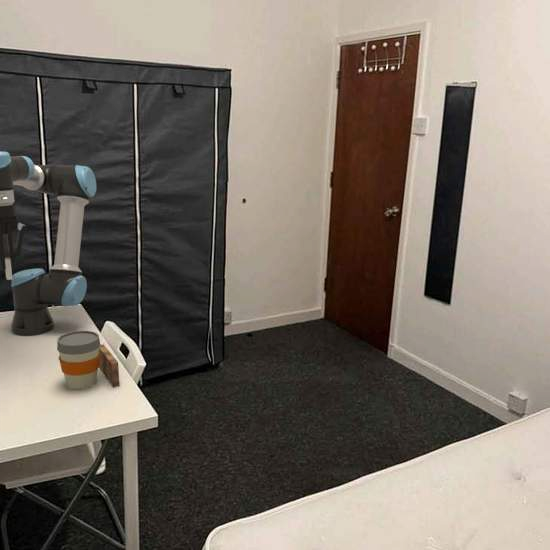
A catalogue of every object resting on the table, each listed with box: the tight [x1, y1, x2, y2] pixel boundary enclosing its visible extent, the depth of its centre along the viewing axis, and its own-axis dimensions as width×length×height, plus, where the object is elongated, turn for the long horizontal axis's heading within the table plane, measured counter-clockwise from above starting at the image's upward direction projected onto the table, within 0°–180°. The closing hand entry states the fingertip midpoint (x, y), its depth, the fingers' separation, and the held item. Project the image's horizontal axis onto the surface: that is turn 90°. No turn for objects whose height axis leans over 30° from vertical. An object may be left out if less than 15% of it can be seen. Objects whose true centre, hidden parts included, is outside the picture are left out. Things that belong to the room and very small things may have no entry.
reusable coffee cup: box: [56, 330, 101, 390], centre depth 169 cm, size 13×13×15 cm
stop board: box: [98, 343, 120, 388], centre depth 175 cm, size 16×2×8 cm, turn 32°
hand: (9, 278), depth 172 cm, fingers closed
